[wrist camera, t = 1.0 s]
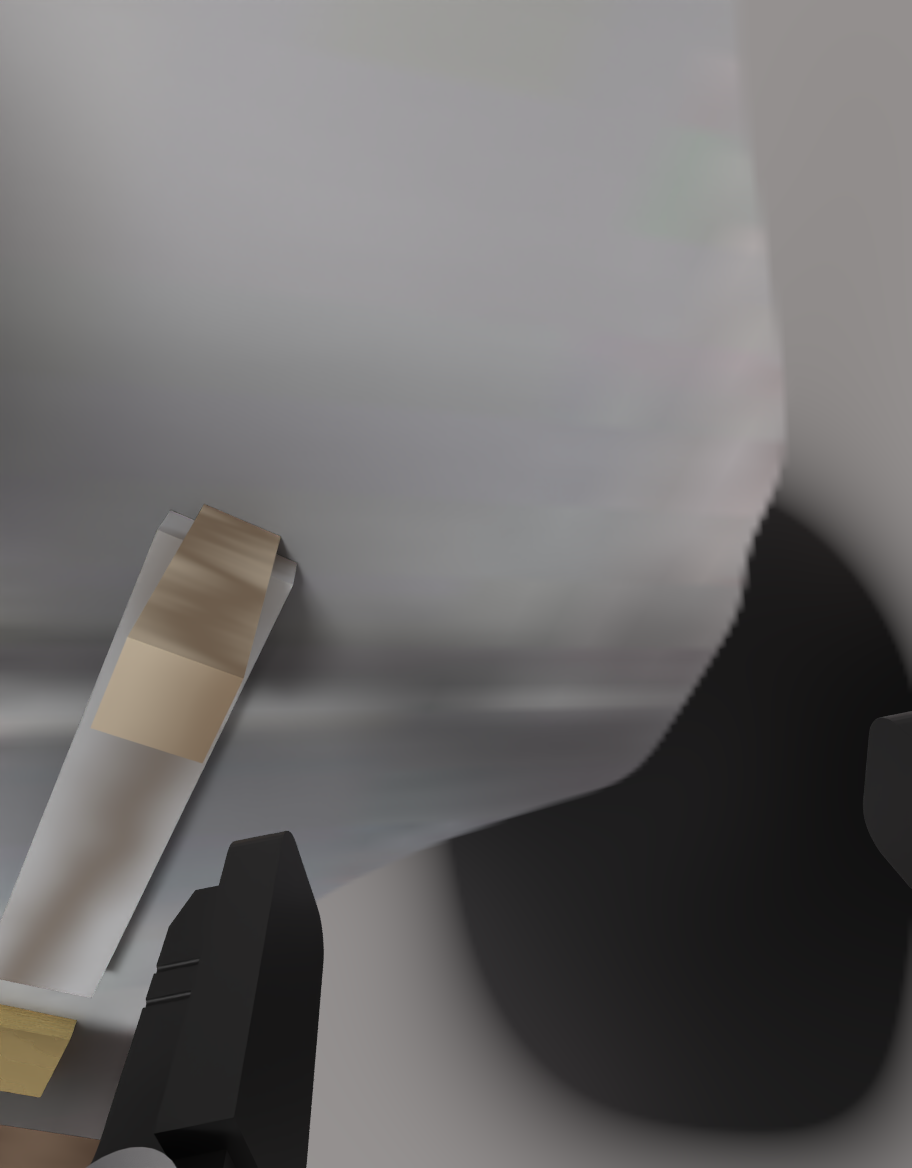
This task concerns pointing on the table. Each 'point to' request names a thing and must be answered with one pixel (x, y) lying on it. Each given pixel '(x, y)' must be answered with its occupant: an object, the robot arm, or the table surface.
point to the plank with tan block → (142, 744)
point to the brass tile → (30, 1048)
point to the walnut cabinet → (44, 1149)
